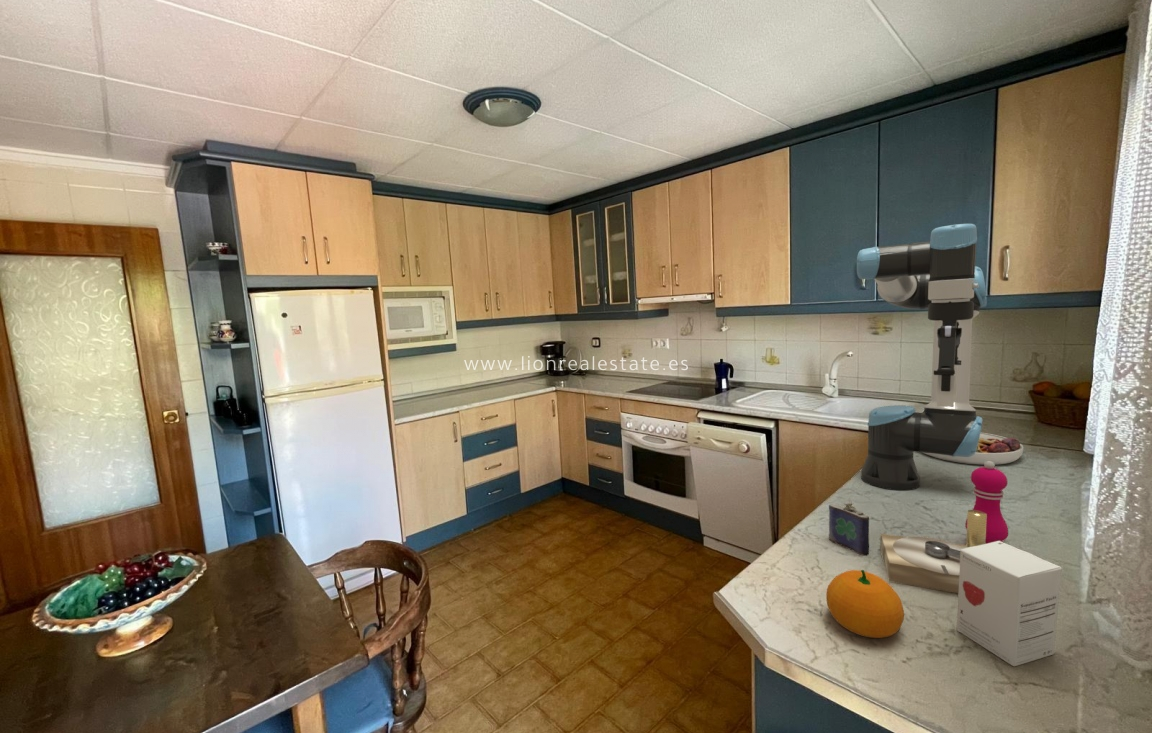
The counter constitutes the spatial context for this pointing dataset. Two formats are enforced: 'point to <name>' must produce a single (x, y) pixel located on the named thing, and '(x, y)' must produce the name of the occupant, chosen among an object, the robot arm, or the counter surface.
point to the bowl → (989, 451)
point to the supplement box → (1008, 601)
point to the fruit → (865, 604)
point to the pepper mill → (990, 500)
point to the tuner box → (919, 563)
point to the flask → (849, 528)
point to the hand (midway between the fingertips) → (947, 400)
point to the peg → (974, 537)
